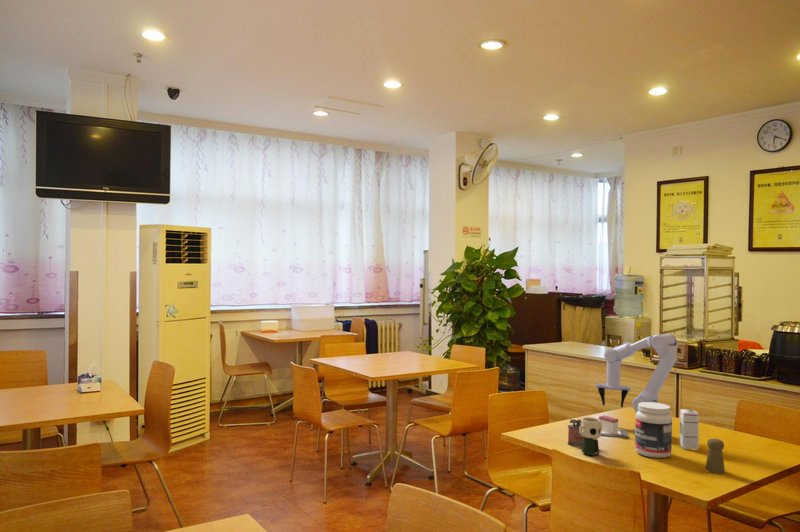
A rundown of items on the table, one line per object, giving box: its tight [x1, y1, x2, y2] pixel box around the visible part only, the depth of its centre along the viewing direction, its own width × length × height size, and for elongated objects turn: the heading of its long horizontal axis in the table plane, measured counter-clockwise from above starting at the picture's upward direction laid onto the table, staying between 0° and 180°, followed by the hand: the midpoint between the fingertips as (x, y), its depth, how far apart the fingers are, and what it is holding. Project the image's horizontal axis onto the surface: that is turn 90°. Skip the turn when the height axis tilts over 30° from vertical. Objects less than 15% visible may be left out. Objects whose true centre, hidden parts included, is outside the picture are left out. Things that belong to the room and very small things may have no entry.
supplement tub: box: [634, 402, 673, 459], centre depth 225 cm, size 13×13×18 cm
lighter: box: [567, 418, 585, 447], centre depth 235 cm, size 8×3×10 cm, turn 84°
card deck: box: [598, 415, 619, 434], centre depth 253 cm, size 3×7×6 cm, turn 34°
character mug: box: [579, 416, 602, 456], centre depth 223 cm, size 11×7×13 cm, turn 116°
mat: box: [600, 429, 629, 439], centre depth 253 cm, size 15×11×1 cm
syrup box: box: [679, 408, 700, 451], centre depth 234 cm, size 6×6×14 cm
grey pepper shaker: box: [705, 438, 726, 475], centre depth 207 cm, size 6×6×11 cm
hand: (612, 406), depth 267 cm, fingers open, 7 cm apart
